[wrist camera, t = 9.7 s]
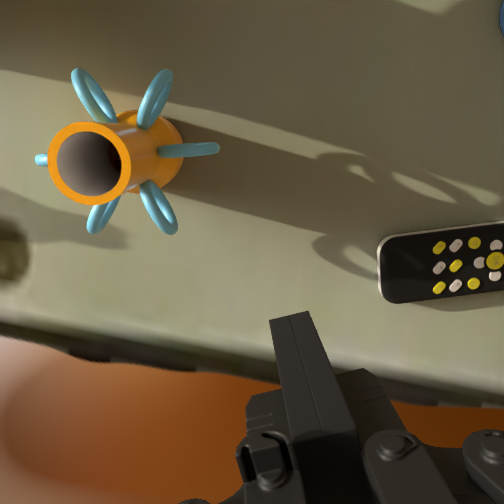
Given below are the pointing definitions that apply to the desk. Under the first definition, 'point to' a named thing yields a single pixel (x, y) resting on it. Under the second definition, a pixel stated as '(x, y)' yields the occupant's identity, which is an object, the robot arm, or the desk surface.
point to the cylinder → (120, 153)
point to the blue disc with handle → (502, 17)
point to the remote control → (441, 263)
